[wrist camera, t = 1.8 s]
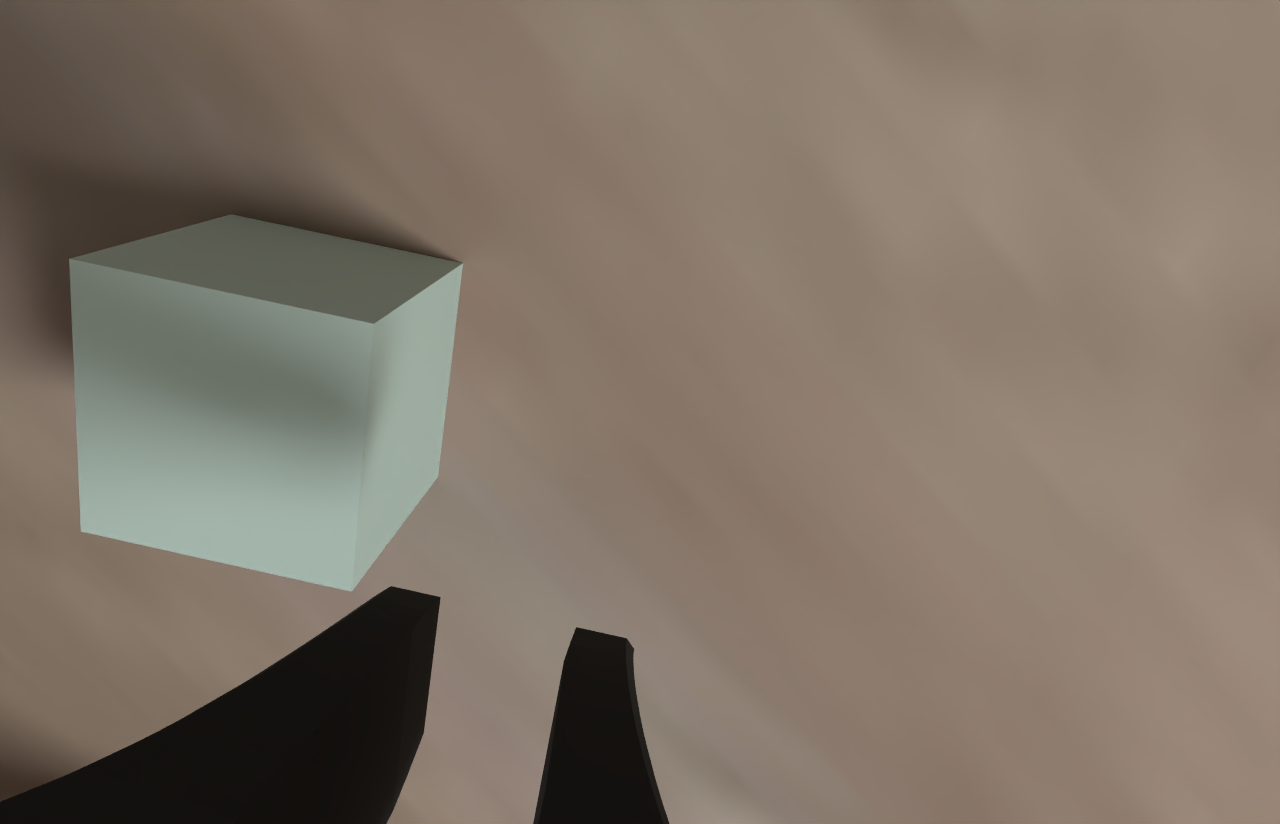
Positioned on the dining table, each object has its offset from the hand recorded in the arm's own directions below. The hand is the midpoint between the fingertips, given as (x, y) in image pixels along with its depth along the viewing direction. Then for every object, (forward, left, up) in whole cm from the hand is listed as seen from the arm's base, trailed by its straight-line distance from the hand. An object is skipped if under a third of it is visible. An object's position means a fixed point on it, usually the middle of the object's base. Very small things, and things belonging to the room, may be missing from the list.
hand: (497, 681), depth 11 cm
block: (0, +6, -10) cm, 11 cm away
